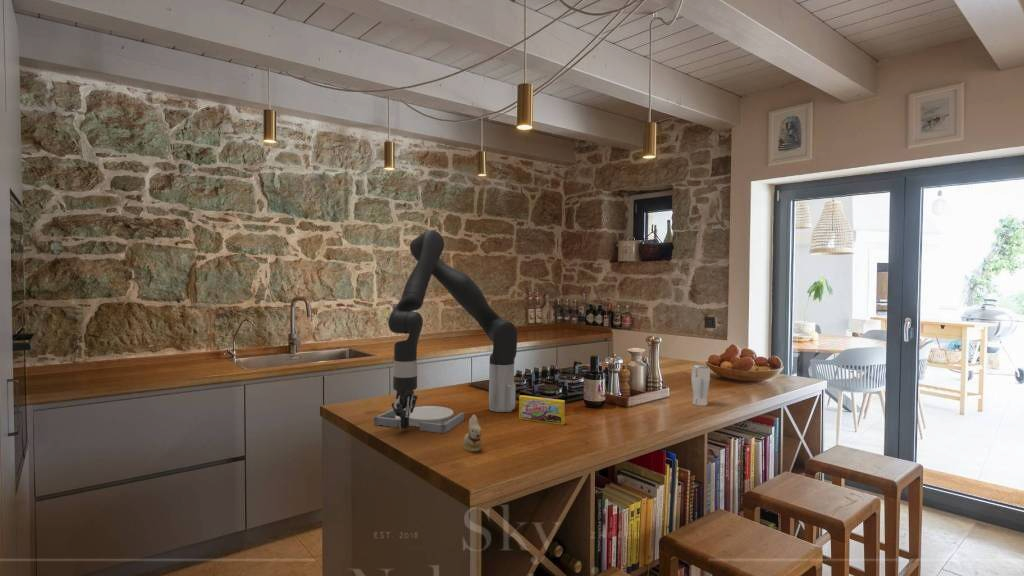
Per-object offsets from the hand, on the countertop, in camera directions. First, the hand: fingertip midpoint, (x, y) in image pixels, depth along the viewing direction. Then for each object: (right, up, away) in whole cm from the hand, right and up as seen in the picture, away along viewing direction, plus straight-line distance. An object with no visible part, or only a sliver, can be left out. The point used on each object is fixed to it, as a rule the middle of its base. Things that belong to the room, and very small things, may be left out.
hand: (404, 428), depth 170 cm
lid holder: (+3, -1, +10) cm, 11 cm away
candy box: (+44, -2, +14) cm, 46 cm away
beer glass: (+109, -2, +42) cm, 116 cm away
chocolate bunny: (+23, -2, -15) cm, 27 cm away
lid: (+4, -1, +13) cm, 14 cm away
